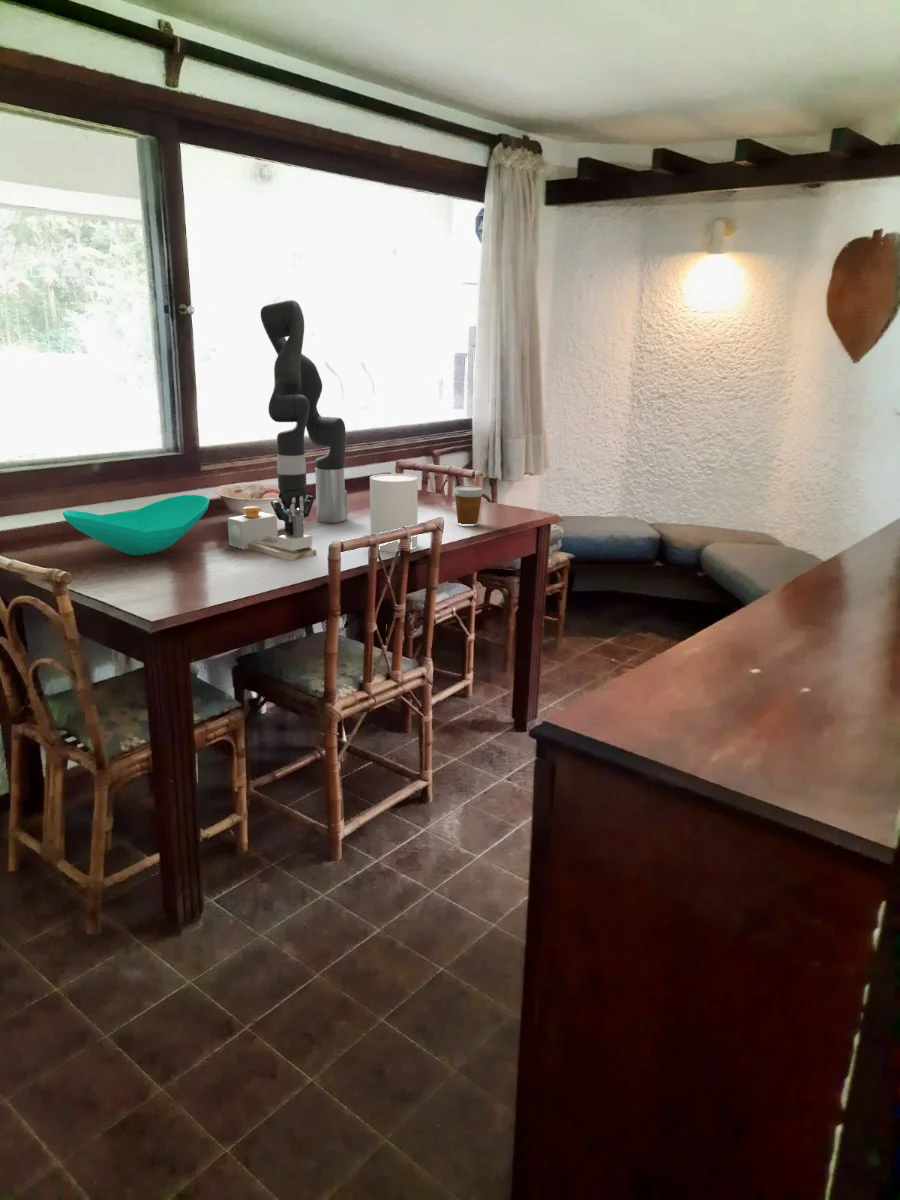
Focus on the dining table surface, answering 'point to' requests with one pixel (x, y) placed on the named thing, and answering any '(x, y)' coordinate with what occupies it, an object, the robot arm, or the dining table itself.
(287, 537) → the carriage
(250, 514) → the button
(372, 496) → the canister
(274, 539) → the rail track
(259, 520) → the end cabinet
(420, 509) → the dining table surface
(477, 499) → the disposable coffee cup
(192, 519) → the table top decor
